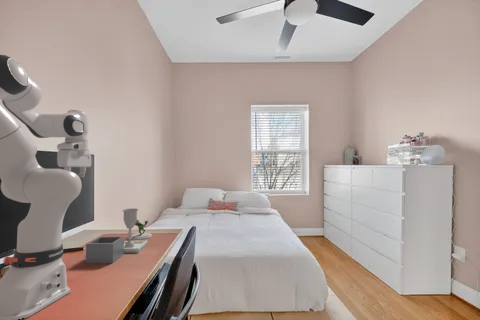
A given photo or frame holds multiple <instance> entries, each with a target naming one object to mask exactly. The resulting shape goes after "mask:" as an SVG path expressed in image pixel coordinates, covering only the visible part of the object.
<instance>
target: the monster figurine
mask: <svg viewBox="0 0 480 320" xmlns="http://www.w3.org/2000/svg"><path fill="white" fill-rule="evenodd" d="M148 222H149V220H144V223H141V221H140V220H138V219H137V220H136V223H135V225H134V227H135V226H136V227H137V229H138V232H135V233H133V234H131V236H132V237H131V240H132V241H142V240H147V239H150V238H152V236H153V234H152V233H150V232H146V230H145V229H144V228H145V227H146V225H147V224H148ZM141 231H143V232H141Z"/></svg>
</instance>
